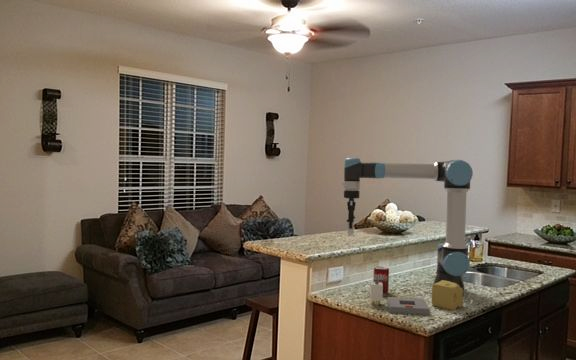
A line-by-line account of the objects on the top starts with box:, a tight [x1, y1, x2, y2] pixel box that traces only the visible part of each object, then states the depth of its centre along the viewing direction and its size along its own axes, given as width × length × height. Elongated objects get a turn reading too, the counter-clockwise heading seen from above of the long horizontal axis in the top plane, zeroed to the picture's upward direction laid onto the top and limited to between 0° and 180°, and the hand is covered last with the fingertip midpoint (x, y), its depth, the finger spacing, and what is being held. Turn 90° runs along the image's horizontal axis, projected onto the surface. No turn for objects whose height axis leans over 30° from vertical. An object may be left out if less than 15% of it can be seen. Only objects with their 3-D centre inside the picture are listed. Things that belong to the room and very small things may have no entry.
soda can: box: [373, 265, 390, 295], centre depth 248 cm, size 7×7×12 cm
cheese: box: [431, 280, 464, 311], centre depth 226 cm, size 10×11×10 cm
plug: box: [370, 279, 384, 306], centre depth 226 cm, size 5×5×11 cm
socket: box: [386, 296, 430, 316], centre depth 221 cm, size 16×16×3 cm
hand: (350, 233), depth 248 cm, fingers open, 13 cm apart
